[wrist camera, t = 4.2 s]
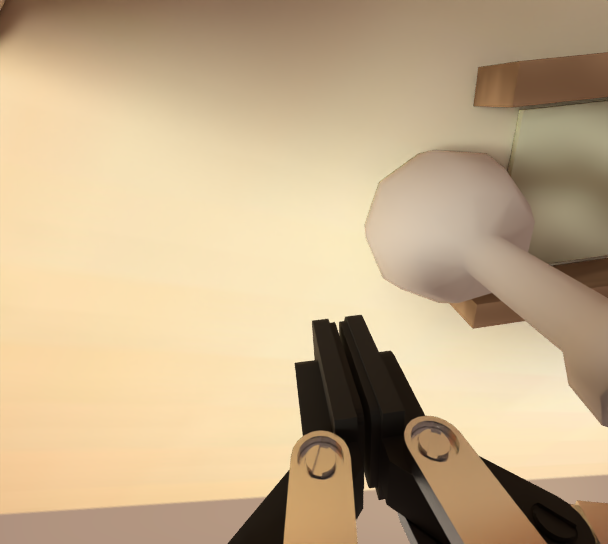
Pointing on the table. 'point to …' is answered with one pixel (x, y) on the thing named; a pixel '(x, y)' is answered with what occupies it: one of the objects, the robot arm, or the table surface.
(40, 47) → the table surface
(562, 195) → the u rest
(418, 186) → the potion bottle
